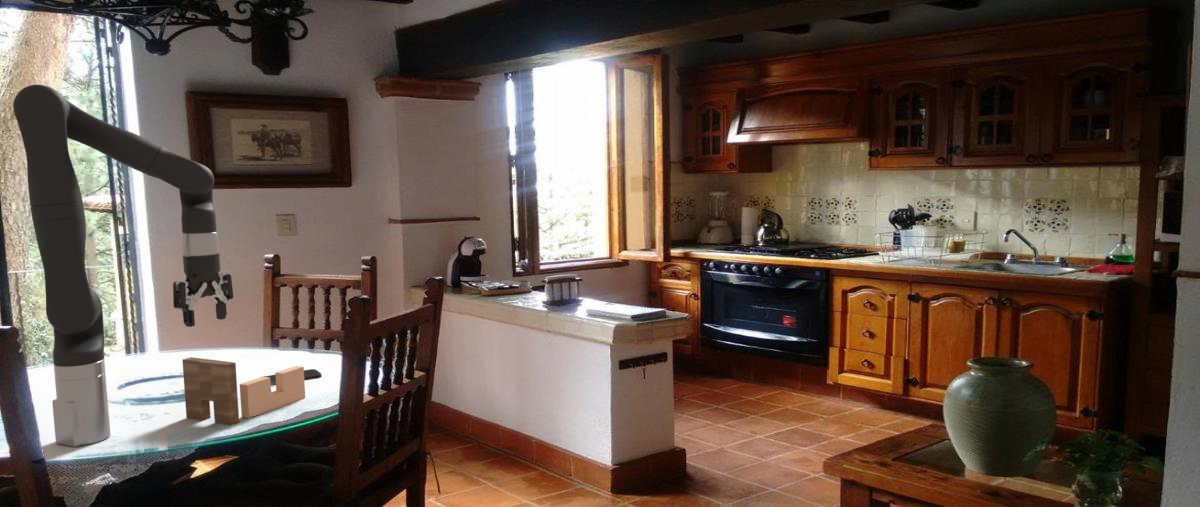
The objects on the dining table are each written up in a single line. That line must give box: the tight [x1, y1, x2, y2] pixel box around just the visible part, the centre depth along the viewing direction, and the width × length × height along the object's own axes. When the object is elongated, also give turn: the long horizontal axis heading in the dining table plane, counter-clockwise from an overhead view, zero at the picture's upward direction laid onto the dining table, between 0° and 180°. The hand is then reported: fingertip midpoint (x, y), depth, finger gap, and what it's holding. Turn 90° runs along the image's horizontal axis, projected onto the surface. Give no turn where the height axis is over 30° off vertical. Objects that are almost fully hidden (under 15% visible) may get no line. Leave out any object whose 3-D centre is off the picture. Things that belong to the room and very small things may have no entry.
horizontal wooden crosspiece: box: [239, 365, 306, 419], centre depth 200 cm, size 18×2×8 cm, turn 157°
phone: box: [262, 368, 322, 386], centre depth 227 cm, size 8×1×15 cm
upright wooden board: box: [182, 357, 240, 426], centre depth 190 cm, size 2×14×14 cm, turn 67°
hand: (205, 322), depth 188 cm, fingers open, 8 cm apart
